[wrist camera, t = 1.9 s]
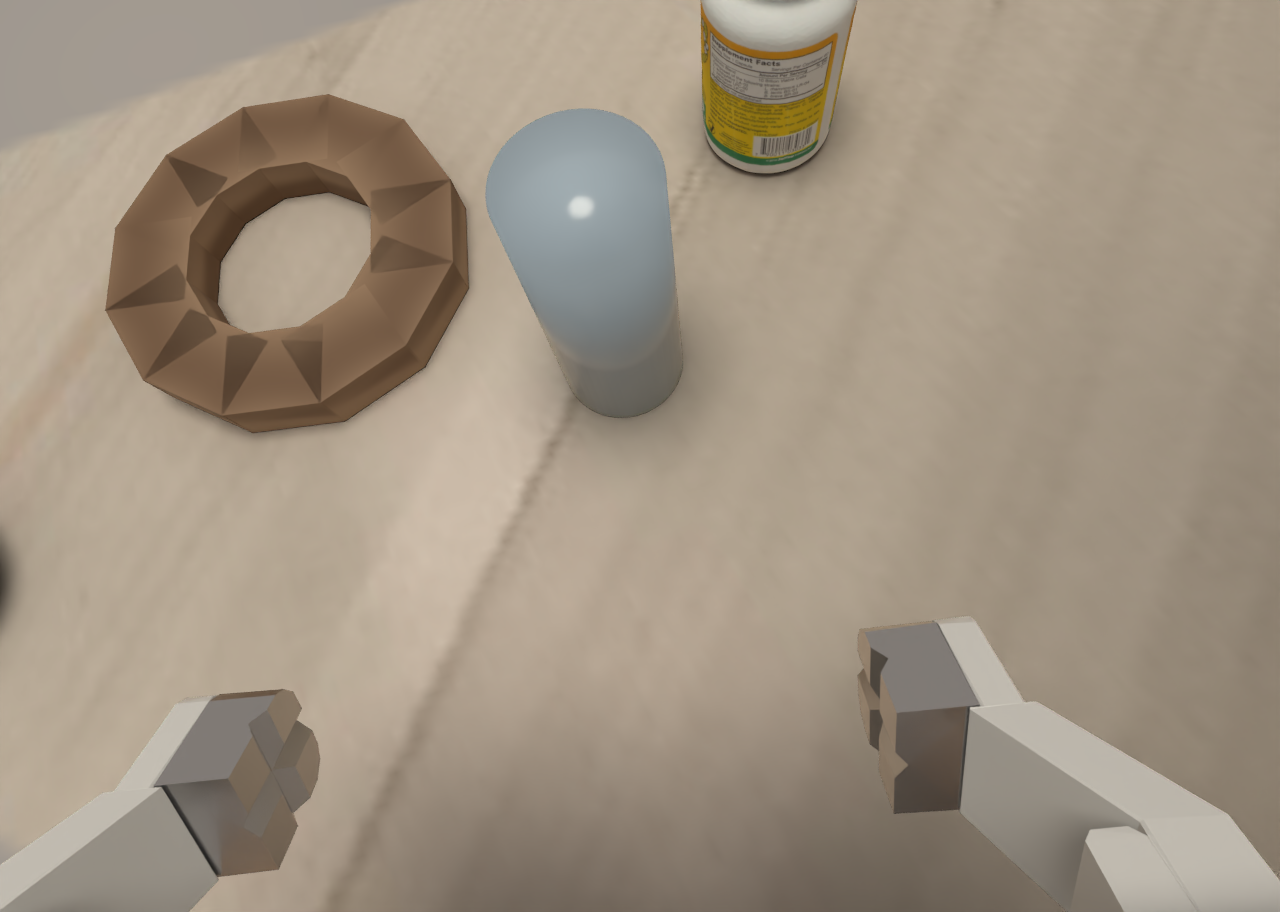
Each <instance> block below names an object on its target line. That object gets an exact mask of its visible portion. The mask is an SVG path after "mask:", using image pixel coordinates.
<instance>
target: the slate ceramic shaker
mask: <svg viewBox="0 0 1280 912" xmlns="http://www.w3.org/2000/svg"><path fill="white" fill-rule="evenodd" d="M486 205H487V210H488V213H489V217H490V219H491V221H492V223H493V225H494V228H495V230H496V232H497V234H498V236H499V238H500V240H501V242H502V244H503V247H504V249H505V251H506V253H507V255H508V257H509V259H510V261H511V263H512V266H513V268H514V270H515V272H516V274H517V276H518V278H519V280H520V282H521V285H522V287H523V289H524V291H525V293H526V295H527V297H528V299H529V302H530V304H531V306H532V308H533V310H534V312H535V314H536V316H537V318H538V321H539V323H540V325H541V327H542V329H543V331H544V333H545V335H546V337H547V340H548V342H549V344H550V346H551V348H552V350H553V352H554V354H555V356H556V359H557V361H558V363H559V365H560V367H561V369H562V371H563V373H564V375H565V378H566V380H567V382H568V384H569V386H570V388H571V390H572V392H573V393H574V395H575V396H576V397H577V398H578V400H579V401H580V402H581V403H583V404H584V405H585V406H586V407H588V408H589V409H591V410H593V411H595V412H597V413H599V414H602V415H605V416H610V417H620V418H623V417H632V416H637V415H641V414H644V413H646V412H648V411H650V410H652V409H654V408H656V407H657V406H659V405H660V404H661V403H662V402H664V401H665V400H666V399H667V398H668V397H669V396H670V394H671V393H672V392H673V390H674V389H675V387H676V385H677V383H678V381H679V379H680V376H681V372H682V366H683V354H682V343H681V332H680V321H679V310H678V299H677V289H676V278H675V267H674V256H673V245H672V234H671V223H670V213H669V202H668V191H667V180H666V170H665V166H664V161H663V158H662V156H661V153H660V151H659V149H658V147H657V146H656V144H655V142H654V141H653V140H652V139H651V137H650V136H649V135H648V134H647V133H646V132H645V131H644V130H643V129H642V128H641V127H639V126H638V125H636V124H635V123H634V122H632V121H630V120H628V119H627V118H625V117H623V116H620V115H617V114H615V113H611V112H607V111H603V110H596V109H571V110H565V111H560V112H556V113H553V114H550V115H546V116H544V117H542V118H540V119H537V120H535V121H533V122H532V123H530V124H528V125H527V126H525V127H524V128H522V129H521V130H520V131H518V132H517V133H516V134H515V135H514V136H513V137H511V138H510V139H509V140H508V141H507V143H506V144H505V145H504V146H503V147H502V148H501V150H500V151H499V153H498V154H497V156H496V158H495V160H494V162H493V164H492V166H491V168H490V171H489V174H488V178H487V183H486Z"/></svg>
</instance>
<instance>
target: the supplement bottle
mask: <svg viewBox="0 0 1280 912" xmlns="http://www.w3.org/2000/svg"><path fill="white" fill-rule="evenodd" d="M856 5H857V0H701V57H702V106H703V107H702V108H703V121H704V129H705V134H706V137H707V139H708V142H709V144H710V146H711V147H712V149H713V150H714V151H715V153H716V154H717V155H718V156H719V157H721V158H722V159H723V160H725V161H726V162H727V163H729V164H731V165H733V166H735V167H737V168H740V169H742V170H745V171H748V172H754V173H776V172H782V171H786V170H789V169H791V168H794V167H796V166H798V165H800V164H802V163H803V162H805V161H806V160H808V159H809V158H810V157H812V156H813V155H814V154H815V153H816V152H817V151H818V149H819V148H820V147H821V146H822V144H823V143H824V141H825V139H826V137H827V135H828V132H829V129H830V125H831V121H832V117H833V112H834V107H835V103H836V99H837V93H838V88H839V84H840V79H841V74H842V69H843V64H844V59H845V55H846V50H847V46H848V41H849V37H850V32H851V27H852V23H853V18H854V14H855V10H856Z"/></svg>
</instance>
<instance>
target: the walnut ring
mask: <svg viewBox="0 0 1280 912" xmlns="http://www.w3.org/2000/svg"><path fill="white" fill-rule="evenodd" d="M325 192H331V193H334V194H337V195H340V196H342V197H345V198H348V199H351V200H353V201H356V202H359V203H361V204H364V205H367V206H369V208H370V209H371V254H370V256H369V257H368V259H367V261H366V262H365V264H364V266H363V267H362V269H361V271H360V272H359V274H358V276H357V277H356V279H355V281H354V283H353V284H352V286H351V288H350V289H349V291H348V293H347V294H346V296H345V297H344V298H343V299H341V300H339V301H338V302H336V303H335V304H333V305H332V306H330V307H329V308H327V309H326V310H324V311H323V312H321V313H320V314H318V315H317V316H315V317H314V318H312V319H311V320H309V321H308V322H306V323H305V324H303V325H302V326H300V327H292V328H285V329H278V330H270V331H263V332H255V333H247V332H245V331H243V330H240V329H238V328H235V327H233V326H231V325H230V324H229V323H228V321H227V319H226V318H225V316H224V314H223V313H222V311H221V309H220V308H219V306H218V304H217V300H218V287H219V273H220V262H221V260H222V259H223V257H224V255H225V254H226V252H227V251H228V249H229V248H230V246H231V245H232V243H233V242H234V240H235V239H236V237H237V235H238V234H239V232H240V231H241V229H242V228H243V226H244V225H245V223H247V222H248V221H250V220H252V219H253V218H255V217H256V216H258V215H259V214H261V213H263V212H264V211H266V210H267V209H269V208H270V207H272V206H274V205H275V204H277V203H278V202H280V201H281V200H283V199H284V198H290V197H297V196H304V195H311V194H318V193H325ZM468 289H469V285H468V257H467V230H466V208H465V207H464V205H463V203H462V201H461V199H460V197H459V195H458V193H457V191H456V189H455V187H454V185H453V183H452V181H451V179H450V178H449V177H448V176H447V175H446V173H445V172H444V171H443V169H442V168H441V167H440V165H439V164H438V163H437V162H436V160H435V159H434V158H433V156H432V155H431V154H430V153H429V151H428V150H427V149H426V147H425V146H424V145H423V144H422V142H421V141H420V140H419V138H418V137H417V136H416V134H415V133H414V132H413V131H412V129H411V128H410V127H409V125H408V124H407V123H406V122H405V120H404V119H401V118H398V117H395V116H392V115H389V114H386V113H383V112H380V111H377V110H374V109H371V108H368V107H365V106H362V105H359V104H356V103H353V102H350V101H347V100H344V99H341V98H338V97H335V96H332V95H329V94H327V95H321V96H314V97H308V98H301V99H295V100H288V101H282V102H275V103H268V104H262V105H255V106H249V107H242V108H241V109H240V110H238V111H236V112H235V113H233V114H232V115H230V116H228V117H227V118H225V119H224V120H222V121H220V122H219V123H217V124H215V125H214V126H212V127H211V128H209V129H207V130H206V131H204V132H203V133H201V134H199V135H198V136H196V137H195V138H193V139H191V140H190V141H188V142H187V143H185V144H183V145H182V146H180V147H178V148H177V149H175V150H174V151H172V152H170V153H169V154H167V155H166V156H165V157H164V159H163V160H162V162H161V163H160V165H159V166H158V168H157V169H156V170H155V172H154V173H153V175H152V176H151V178H150V179H149V181H148V182H147V183H146V185H145V186H144V188H143V189H142V191H141V192H140V193H139V195H138V196H137V198H136V199H135V201H134V202H133V204H132V205H131V206H130V208H129V209H128V211H127V212H126V214H125V215H124V217H123V218H122V219H121V221H120V222H119V224H118V225H117V227H116V228H115V236H114V244H113V252H112V261H111V269H110V277H109V285H108V294H107V302H106V310H105V311H106V312H107V314H108V316H109V318H110V320H111V321H112V323H113V325H114V327H115V329H116V331H117V332H118V334H119V336H120V338H121V340H122V342H123V344H124V345H125V347H126V349H127V351H128V353H129V355H130V357H131V358H132V360H133V362H134V364H135V366H136V368H137V370H138V371H139V373H140V375H141V377H142V379H143V381H145V382H147V383H149V384H151V385H153V386H154V387H156V388H158V389H160V390H162V391H164V392H165V393H167V394H169V395H171V396H173V397H175V398H176V399H179V400H181V401H183V402H186V403H188V404H190V405H192V406H195V407H197V408H199V409H201V410H203V411H206V412H208V413H210V414H212V415H215V416H217V417H219V418H221V419H223V420H226V421H228V422H230V423H232V424H234V425H237V426H239V427H241V428H243V429H246V430H248V431H250V432H252V433H255V432H263V431H271V430H279V429H287V428H295V427H302V426H310V425H318V424H326V423H334V422H342V421H346V420H347V419H349V418H350V417H352V416H353V415H355V414H356V413H358V412H359V411H361V410H362V409H363V408H365V407H366V406H368V405H369V404H371V403H372V402H374V401H375V400H377V399H378V398H380V397H381V396H383V395H384V394H386V393H387V392H389V391H390V390H391V389H393V388H394V387H396V386H397V385H399V384H400V383H402V382H403V381H405V380H406V379H408V378H409V377H411V376H412V375H414V374H415V373H417V372H418V371H419V370H421V369H422V368H424V367H425V366H426V364H427V362H428V360H429V359H430V357H431V355H432V353H433V351H434V350H435V348H436V346H437V344H438V342H439V341H440V339H441V337H442V335H443V333H444V332H445V330H446V328H447V326H448V324H449V323H450V321H451V319H452V317H453V315H454V313H455V312H456V310H457V308H458V306H459V304H460V303H461V301H462V299H463V297H464V295H465V294H466V292H467V290H468Z"/></svg>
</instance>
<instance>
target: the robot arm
mask: <svg viewBox="0 0 1280 912" xmlns="http://www.w3.org/2000/svg"><path fill="white" fill-rule="evenodd" d="M858 653H859V656H860V659H861V662H862V665H863V667H864V668H863V670H862V671H861V672H860V673H859V674H858V696H859V703H860V710H861V716H862V720H863V724H864V728H865V731H866V734H867V737H868V740H869V743H870V745H872V746H873V747H874V748H876V749H877V750H878V751H879V773H880V776H881V779H882V782H883V785H884V787H885V790H886V793H887V796H888V799H889V802H890V805H891V808H892V810H893V813H894V814H899V813H915V812H930V811H946V810H960V813H961V814H962V815H963V816H964V817H965V818H966V819H967V820H968V821H969V822H970V823H971V824H972V825H974V826H975V827H976V828H977V829H978V830H979V831H980V832H981V833H982V834H983V835H984V836H985V837H987V838H988V839H989V840H990V841H991V842H992V843H993V844H994V845H995V846H996V847H997V848H998V849H1000V850H1001V851H1002V852H1003V853H1004V854H1005V855H1006V856H1007V857H1008V858H1009V859H1010V860H1011V861H1013V862H1014V863H1015V864H1016V865H1017V866H1018V867H1019V868H1020V869H1021V870H1022V871H1023V872H1024V873H1026V874H1027V875H1028V876H1029V877H1030V878H1031V879H1032V880H1033V881H1034V882H1035V883H1036V884H1037V885H1039V886H1040V887H1041V888H1042V889H1043V890H1044V891H1045V892H1046V893H1047V894H1048V895H1049V896H1050V897H1052V898H1053V899H1054V900H1055V901H1056V902H1057V903H1058V904H1059V905H1060V906H1061V907H1062V908H1063V909H1065V910H1066V911H1067V912H1280V880H1279V879H1278V878H1277V876H1276V875H1275V874H1274V872H1273V871H1272V870H1271V869H1270V867H1269V866H1268V865H1267V863H1266V862H1265V861H1264V860H1263V858H1262V857H1261V856H1260V854H1259V853H1258V852H1257V851H1256V849H1255V848H1254V847H1253V845H1252V844H1251V843H1250V842H1249V840H1248V839H1247V838H1246V836H1245V835H1244V834H1243V832H1242V831H1241V830H1240V829H1239V827H1238V826H1237V825H1236V823H1235V822H1234V821H1233V820H1232V818H1231V817H1230V816H1229V815H1228V814H1227V813H1225V812H1223V811H1221V810H1220V809H1218V808H1216V807H1215V806H1213V805H1211V804H1210V803H1208V802H1206V801H1205V800H1203V799H1201V798H1200V797H1198V796H1196V795H1194V794H1193V793H1191V792H1189V791H1188V790H1186V789H1184V788H1183V787H1181V786H1179V785H1178V784H1176V783H1174V782H1172V781H1171V780H1169V779H1167V778H1166V777H1164V776H1162V775H1161V774H1159V773H1157V772H1156V771H1154V770H1152V769H1151V768H1149V767H1147V766H1145V765H1144V764H1142V763H1140V762H1139V761H1137V760H1135V759H1134V758H1132V757H1130V756H1129V755H1127V754H1125V753H1123V752H1122V751H1120V750H1118V749H1117V748H1115V747H1113V746H1112V745H1110V744H1108V743H1107V742H1105V741H1103V740H1102V739H1100V738H1098V737H1096V736H1095V735H1093V734H1091V733H1090V732H1088V731H1086V730H1085V729H1083V728H1081V727H1080V726H1078V725H1076V724H1074V723H1073V722H1071V721H1069V720H1068V719H1066V718H1064V717H1063V716H1061V715H1059V714H1058V713H1056V712H1054V711H1053V710H1051V709H1049V708H1047V707H1046V706H1044V705H1042V704H1041V703H1039V702H1037V701H1034V702H1025V701H1024V699H1023V697H1022V696H1021V694H1020V693H1019V691H1018V689H1017V688H1016V686H1015V684H1014V683H1013V681H1012V679H1011V678H1010V676H1009V674H1008V673H1007V671H1006V669H1005V668H1004V666H1003V665H1002V663H1001V661H1000V660H999V658H998V656H997V655H996V653H995V651H994V650H993V648H992V646H991V645H990V643H989V642H988V640H987V638H986V637H985V635H984V633H983V632H982V630H981V628H980V627H979V625H978V623H977V622H976V620H975V619H973V618H972V617H970V616H963V617H955V618H947V619H939V620H933V621H932V622H931V621H926V622H917V623H909V624H900V625H891V626H882V627H873V628H864V629H860V630H859V634H858ZM301 709H302V707H301V705H300V704H299V702H298V700H297V698H296V696H295V694H294V692H293V691H289V690H285V689H280V690H268V691H255V692H243V693H230V694H220V695H217V696H202V697H188V698H185V699H184V700H182V701H180V702H178V703H177V704H175V706H174V707H173V709H172V710H171V711H170V713H169V714H168V716H167V717H166V719H165V720H164V721H163V723H162V724H161V726H160V727H159V728H158V730H157V731H156V733H155V734H154V735H153V737H152V738H151V740H150V741H149V742H148V744H147V745H146V747H145V748H144V749H143V751H142V752H141V754H140V755H139V756H138V758H137V759H136V761H135V762H134V763H133V765H132V766H131V768H130V769H129V770H128V772H127V773H126V775H125V776H124V778H123V779H122V780H121V782H120V783H119V785H118V786H117V787H116V789H115V790H114V792H105V793H102V794H100V795H99V796H97V797H96V798H95V799H93V800H92V801H90V802H89V803H87V804H86V805H85V806H83V807H82V808H80V809H79V810H77V811H76V812H75V813H73V814H72V815H70V816H69V817H68V818H66V819H65V820H63V821H62V822H60V823H59V824H58V825H56V826H55V827H53V828H52V829H51V830H49V831H48V832H46V833H45V834H43V835H42V836H41V837H39V838H38V839H36V840H35V841H34V842H32V843H31V844H29V845H28V846H26V847H25V848H24V849H22V850H21V851H19V852H18V853H16V854H15V855H14V856H12V857H11V858H9V859H8V860H7V861H5V862H4V863H2V864H1V865H0V912H189V911H190V910H191V909H192V908H193V907H194V906H195V905H196V904H197V903H198V902H199V900H200V899H201V898H202V897H203V896H204V895H205V894H206V893H207V892H208V891H209V890H210V889H211V888H212V887H213V886H214V885H215V884H216V883H217V882H218V877H222V876H230V875H238V874H246V873H255V872H263V871H271V870H279V868H280V865H281V863H282V861H283V859H284V856H285V854H286V852H287V850H288V847H289V845H290V843H291V841H292V838H293V836H294V834H295V831H296V829H297V827H298V824H297V821H296V819H295V816H294V812H295V811H296V810H297V809H298V808H299V807H300V806H302V805H303V804H304V803H305V802H306V801H307V800H308V799H309V798H310V797H311V795H312V792H313V790H314V787H315V785H316V782H317V780H318V772H319V764H320V754H319V748H318V743H317V740H316V738H315V736H314V733H313V731H312V730H311V729H309V728H308V727H306V726H305V725H303V724H302V723H300V722H299V721H297V718H298V716H299V714H300V712H301Z"/></svg>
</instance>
